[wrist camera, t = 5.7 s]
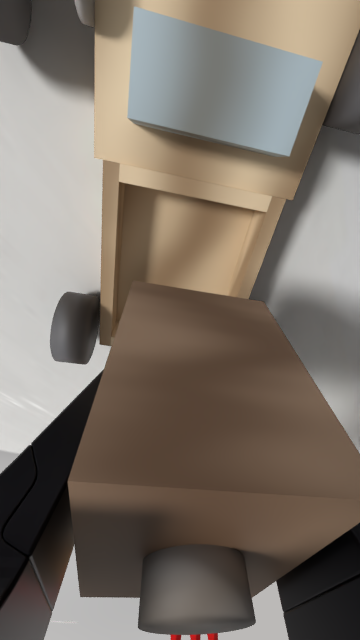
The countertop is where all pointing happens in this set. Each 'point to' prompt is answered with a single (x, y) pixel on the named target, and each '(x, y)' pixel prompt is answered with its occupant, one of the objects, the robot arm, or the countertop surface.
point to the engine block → (205, 463)
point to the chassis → (203, 140)
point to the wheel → (14, 21)
